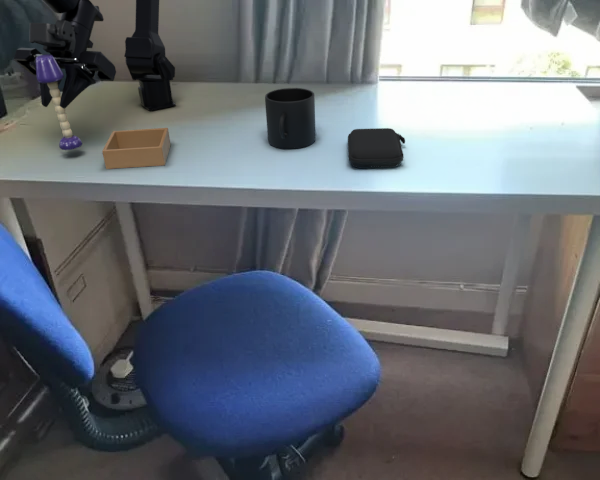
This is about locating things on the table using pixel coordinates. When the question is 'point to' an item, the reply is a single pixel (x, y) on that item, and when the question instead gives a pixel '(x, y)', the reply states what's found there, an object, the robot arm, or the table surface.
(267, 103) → the mug
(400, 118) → the table surface
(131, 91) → the table surface
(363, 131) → the carrying case
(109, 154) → the box
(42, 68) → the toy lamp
